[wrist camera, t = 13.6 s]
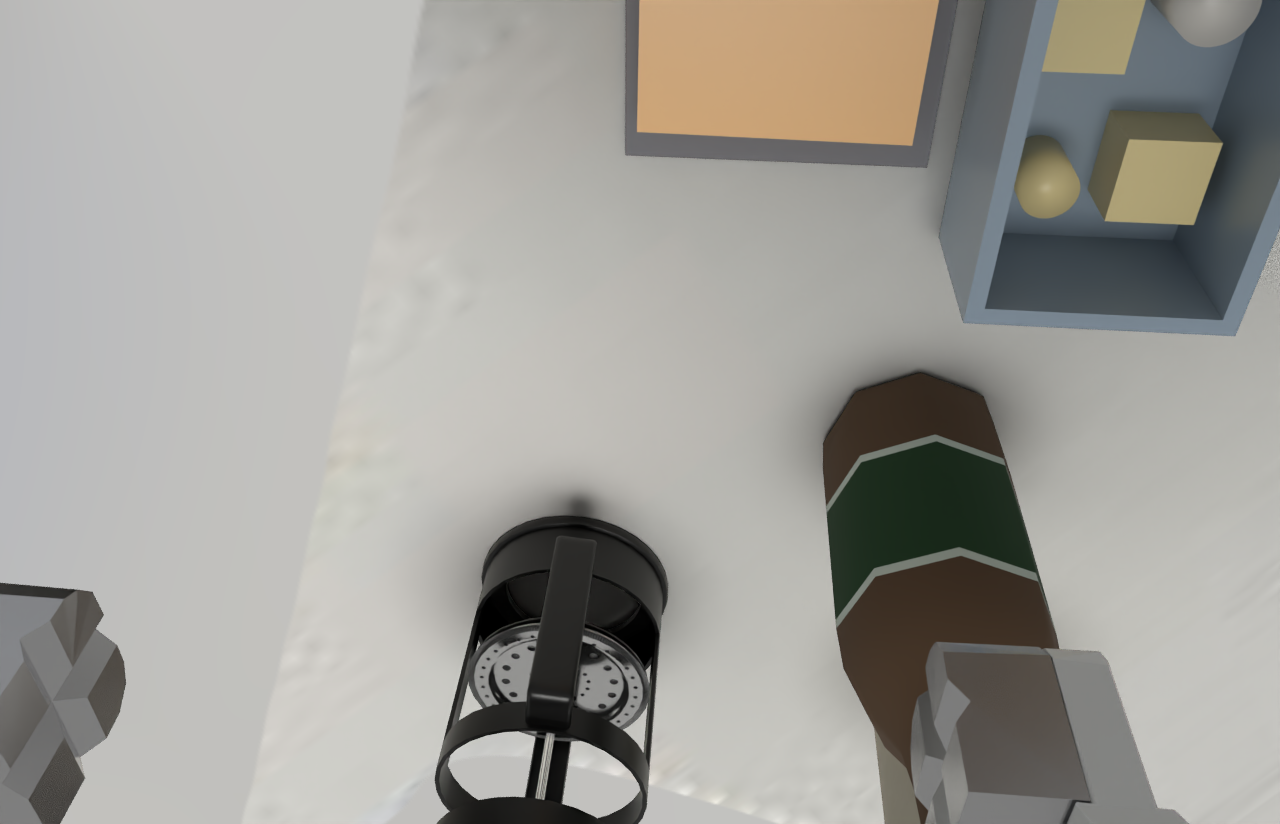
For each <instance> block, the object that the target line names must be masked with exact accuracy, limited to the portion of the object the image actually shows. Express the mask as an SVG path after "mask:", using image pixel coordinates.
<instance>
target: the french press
mask: <svg viewBox="0 0 1280 824" xmlns="http://www.w3.org/2000/svg"><path fill="white" fill-rule="evenodd" d="M543 572H550V575H549V580H548V585H547V590H546V595H545V601H544V606H543V611H542V616H541V617H539V618H530V617H529V616H527V615H526V614H525V613H524V612H523V611H522V610H521V609H520V608H519V607H518V606H517V605H516V604H515V602H514V601H513V599H512V598H511V596H510V593H509V590H508V585H507V582H510V581H512V580H515V579H517V578H519V577H522V576H527V575H531V574H535V573H543ZM592 577H595V578H597V579H600V580H603V581H606V582H609V583H611V584H612V585H614V586H616V587H618V588H620V589H622V590H624V591H625V592H626V593H628V594H629V595H630V596H632V597H633V598H634V599H636V600H637V601H638V602H639V603H640V606H639V607H638V609H637V610H636V612H635V613H634V614H633V615H632V616H631V617H630V618H629V619H628V620H627V621H625V622H624V623H622V624H620V625H619V626H616V627H614V628H611V629H609V630H604V629H602V628H600V627H597V626H595V625H592V624H590V623H587V622H585V620H586V613H587V607H588V600H589V593H590V587H591V580H592ZM482 586H483V588H482V592H481V596H480V599H479V603H478V607H477V611H476V615H475V619H474V623H473V627H472V631H471V635H470V639H469V643H468V647H467V651H466V655H465V658H464V662H463V666H462V670H461V674H460V678H459V682H458V686H457V690H456V694H455V698H454V702H453V706H452V710H451V714H450V717H449V721H448V725H447V729H446V733H445V737H444V741H443V745H442V749H441V753H440V757H439V761H438V765H437V769H436V775H435V784H436V790H437V793H438V795H439V797H440V799H441V801H442V803H443V804H444V805H445V807H446V808H447V809H448V810H449V811H450V812H448V813H447V814H446V815H445V816H444V817H443V818H441V819H440V820H439V821H438V823H437V824H638V823H639V822H640V820H641V819H642V818H643V815H644V812H645V810H646V807H647V794H648V782H649V770H650V757H651V744H652V732H653V719H654V706H655V694H656V681H657V668H658V656H659V643H660V630H661V618H662V615H663V613H664V610H665V607H666V604H667V598H668V583H667V579H666V575H665V571H664V569H663V567H662V565H661V564H660V562H659V560H658V558H657V557H656V556H655V555H654V553H653V552H652V551H651V550H650V549H649V548H648V546H646V545H645V544H644V543H643V542H641V541H640V540H639V539H637V538H636V537H635V536H633V535H631V534H630V533H628V532H626V531H624V530H622V529H620V528H619V527H616V526H613V525H610V524H607V523H605V522H602V521H598V520H593V519H588V518H583V517H568V516H560V517H548V518H542V519H538V520H534V521H530V522H527V523H525V524H522V525H520V526H518V527H516V528H513V529H512V530H510V531H509V532H507V533H506V534H505V535H503V536H502V537H501V538H500V539H499V540H498V541H497V542H496V543H495V544H494V545H493V547H492V548H491V549H490V551H489V553H488V555H487V557H486V559H485V562H484V566H483V572H482ZM478 640H479V642H480V644H481V645H480V646H479V648H478V649H477V651H476V648H477V644H478ZM650 665H651V671H650V683H649V682H648V679H647V674H646V671H645V670H646V669H647V668H648V667H649V666H650ZM468 681H469V686H470V689H471V691H472V693H473V696H474V697H475V699H476V700H477V701H478V703H479V704H480V705H481V707H482V708H483V709H480V710H478V711H475V712H472V713H471V714H469V715H468V716H466V717H464V718H463V719H461V720H459V717H460V713H461V709H462V705H463V701H464V697H465V693H466V689H467V685H468ZM647 703H648V707H647V719H646V730H645V742H644V753H643V752H642V750H641V749H640V747H639V746H638V744H637V743H636V742H635V741H634V740H633V739H632V738H631V737H630V736H629V735H628V734H627V733H626V732H625V731H623V729H625V728H627V727H628V726H630V725H631V724H632V723H633V722H635V721H636V720H637V719H638V718H639V717H640V716H641V714H642V713H643V711H644V710H645V709H646V706H647ZM513 731H519V732H522V733H525V734H528V735H532V736H535V743H534V748H533V754H532V760H531V765H530V771H529V777H528V783H527V788H526V794H525V797H497V798H489V799H484V800H477V799H476V798H474V797H473V796H471V795H470V794H469V793H468V792H467V791H465V790H464V789H463V788H462V787H461V786H460V785H459V783H458V782H457V781H456V780H455V779H454V777H453V776H452V773H451V772H450V769H449V767H448V762H449V758H450V755H451V754H452V753H453V752H454V751H455V750H456V749H458V748H459V747H461V746H463V745H464V744H466V743H468V742H469V741H472V740H475V739H478V738H480V737H483V736H486V735H491V734H497V733H502V732H513ZM571 741H583V742H586V743H589V744H591V745H593V746H595V747H597V748H599V749H602V750H604V751H605V752H607V753H608V754H610V755H611V756H613V757H614V758H616V759H617V760H619V761H620V762H621V763H622V764H623V765H624V766H625V767H626V768H627V769H628V770H630V771H631V773H632V774H633V776H634V777H635V779H636V780H637V782H638V783H639V786H640V792H639V793H638V795H637V796H636V797H635V798H634V799H633V800H632V801H631V802H630V803H629V804H628V805H626V806H625V807H623V808H622V809H620V810H618V811H616V812H614V813H612V814H610V815H608V816H604V817H601V818H598V819H597V818H596V817H594V816H592V815H590V814H587V813H585V812H583V811H581V810H579V809H576V808H574V807H570V806H567V805H563V804H562V801H563V794H564V788H565V780H566V774H567V767H568V760H569V754H570V747H571Z"/></svg>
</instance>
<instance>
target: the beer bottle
mask: <svg viewBox="0 0 1280 824" xmlns="http://www.w3.org/2000/svg"><path fill="white" fill-rule="evenodd" d="M823 474H824V486H825V498H826V510H827V522H828V534H829V546H830V558H831V570H832V583H833V595H834V607H835V619H836V629H837V635H838V640H839V646H840V651H841V657H842V662H843V667H844V670H845V672H846V674H847V676H848V678H849V680H850V682H851V684H852V686H853V688H854V689H855V691H856V693H857V695H858V697H859V699H860V701H861V703H862V705H863V707H864V709H865V711H866V713H867V715H868V717H869V718H870V720H871V722H872V724H873V726H874V728H875V730H876V732H877V734H878V735H879V737H880V739H881V741H882V743H883V745H884V747H885V748H886V749H887V750H888V751H889V752H890V753H891V754H892V755H893V756H894V757H895V758H896V759H897V760H898V761H899V762H900V763H902V764H903V765H904V766H905V767H906V768H907V771H908V774H909V777H910V780H911V783H912V786H913V778H912V768H911V750H910V746H911V732H912V719H913V715H914V710H915V706H916V701H917V697H919V696H920V695H922V694H923V693H924V692H926V691H927V690H929V689H928V683H927V676H926V670H925V666H926V663H927V659H928V655H929V652H930V649H931V648H932V646H933V645H934V643H935V642H948V643H968V644H988V645H1008V646H1028V647H1040V648H1041V649H1044V648H1048V649H1059V646H1058V640H1057V635H1056V632H1055V628H1054V625H1053V621H1052V618H1051V614H1050V611H1049V607H1048V604H1047V600H1046V597H1045V593H1044V590H1043V586H1042V583H1041V579H1040V576H1039V572H1038V569H1037V565H1036V562H1035V558H1034V555H1033V551H1032V548H1031V544H1030V541H1029V537H1028V534H1027V530H1026V527H1025V524H1024V520H1023V517H1022V513H1021V510H1020V506H1019V503H1018V499H1017V496H1016V492H1015V489H1014V485H1013V482H1012V478H1011V475H1010V471H1009V468H1008V465H1007V462H1006V459H1005V456H1004V453H1003V450H1002V447H1001V444H1000V441H999V438H998V435H997V432H996V429H995V426H994V423H993V421H992V418H991V415H990V413H989V410H988V407H987V405H986V402H985V400H984V397H983V396H981V395H980V394H978V393H975V392H972V391H969V390H967V389H964V388H961V387H958V386H956V385H953V384H950V383H947V382H945V381H942V380H939V379H936V378H934V377H931V376H928V375H925V374H923V373H916V374H913V375H910V376H907V377H903V378H900V379H897V380H893V381H890V382H887V383H883V384H880V385H877V386H873V387H870V388H867V389H863V390H860V391H857V392H856V393H855V394H854V395H853V397H852V398H851V400H850V402H849V403H848V405H847V406H846V408H845V410H844V411H843V413H842V414H841V416H840V417H839V419H838V421H837V422H836V424H835V425H834V427H833V428H832V430H831V432H830V433H829V435H828V436H827V438H826V439H825V441H824V443H823ZM913 789H914V786H913ZM915 799H916V804H917V809H918V813H919V818H920V823H921V824H925V822H926V818H927V815H928V810H927V809H926V807H925V806H924V805H923V804H922V803H921V802H920V801H919V799H918V798H917V797H916V796H915Z"/></svg>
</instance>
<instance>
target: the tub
mask: <svg viewBox="0 0 1280 824" xmlns="http://www.w3.org/2000/svg"><path fill="white" fill-rule="evenodd" d="M1279 229H1280V0H986V3H985V8H984V13H983V18H982V23H981V28H980V33H979V38H978V43H977V48H976V53H975V58H974V63H973V68H972V73H971V78H970V83H969V88H968V93H967V98H966V103H965V108H964V113H963V118H962V123H961V128H960V133H959V138H958V143H957V148H956V153H955V158H954V163H953V168H952V173H951V178H950V183H949V188H948V193H947V198H946V203H945V208H944V213H943V218H942V223H941V228H940V233H939V239H940V243H941V246H942V250H943V253H944V257H945V260H946V264H947V267H948V271H949V274H950V278H951V281H952V285H953V288H954V292H955V296H956V299H957V303H958V306H959V310H960V313H961V317H962V320H963V323H974V324H995V325H1015V326H1036V327H1057V328H1077V329H1098V330H1118V331H1139V332H1160V333H1180V334H1201V335H1221V336H1235V335H1236V333H1237V331H1238V328H1239V326H1240V323H1241V321H1242V319H1243V316H1244V314H1245V311H1246V309H1247V306H1248V304H1249V302H1250V299H1251V297H1252V294H1253V292H1254V289H1255V287H1256V285H1257V282H1258V280H1259V277H1260V275H1261V273H1262V270H1263V268H1264V265H1265V263H1266V260H1267V258H1268V256H1269V253H1270V251H1271V248H1272V246H1273V243H1274V241H1275V239H1276V236H1277V234H1278V231H1279Z"/></svg>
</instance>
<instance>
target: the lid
mask: <svg viewBox="0 0 1280 824" xmlns="http://www.w3.org/2000/svg"><path fill="white" fill-rule="evenodd" d="M938 3H939V0H639V52H638V105H637V132H648V133H668V134H688V135H708V136H728V137H748V138H768V139H788V140H808V141H828V142H848V143H868V144H888V145H908V146H912V144H913V139H914V134H915V128H916V123H917V117H918V112H919V106H920V101H921V96H922V90H923V85H924V79H925V74H926V68H927V63H928V58H929V52H930V47H931V41H932V36H933V30H934V25H935V20H936V14H937V9H938Z"/></svg>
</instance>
